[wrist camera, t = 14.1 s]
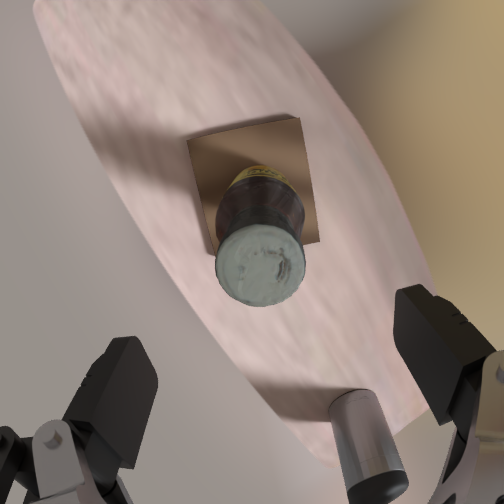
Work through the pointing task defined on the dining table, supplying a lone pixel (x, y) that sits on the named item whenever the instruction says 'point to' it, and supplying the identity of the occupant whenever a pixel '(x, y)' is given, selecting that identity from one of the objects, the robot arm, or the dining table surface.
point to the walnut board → (252, 154)
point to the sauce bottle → (260, 238)
